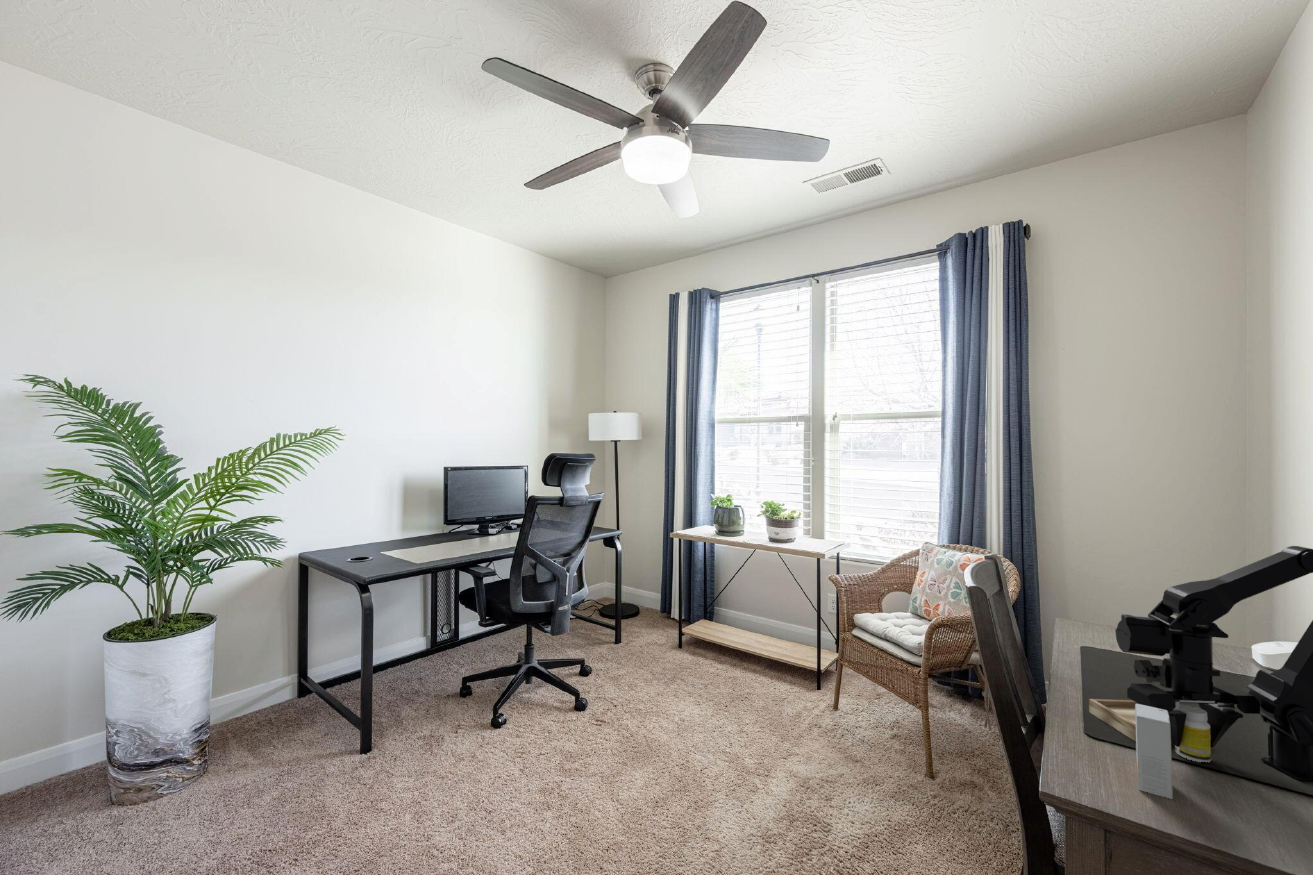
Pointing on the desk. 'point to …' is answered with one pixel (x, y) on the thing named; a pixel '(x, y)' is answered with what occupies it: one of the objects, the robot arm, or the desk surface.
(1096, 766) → the desk surface
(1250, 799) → the desk surface
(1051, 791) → the desk surface
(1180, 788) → the desk surface
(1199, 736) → the supplement bottle
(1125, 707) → the wooden tray
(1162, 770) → the skincare box
